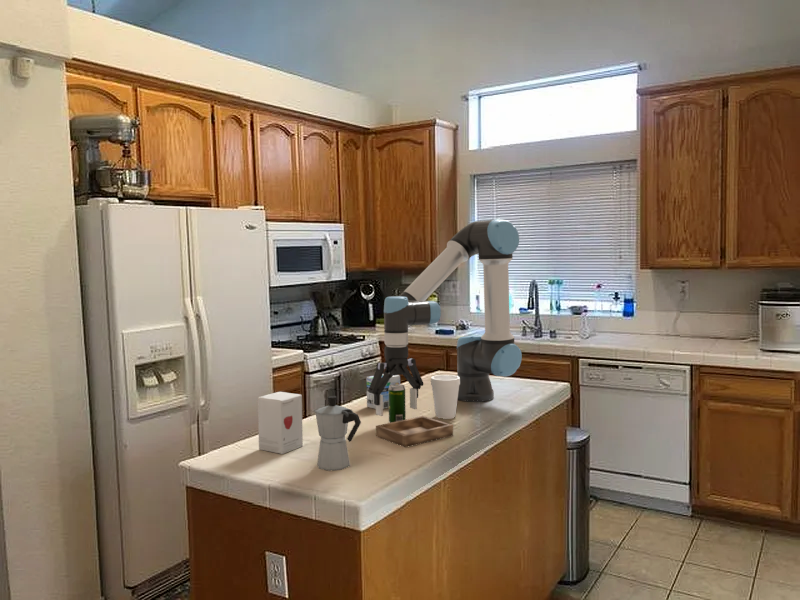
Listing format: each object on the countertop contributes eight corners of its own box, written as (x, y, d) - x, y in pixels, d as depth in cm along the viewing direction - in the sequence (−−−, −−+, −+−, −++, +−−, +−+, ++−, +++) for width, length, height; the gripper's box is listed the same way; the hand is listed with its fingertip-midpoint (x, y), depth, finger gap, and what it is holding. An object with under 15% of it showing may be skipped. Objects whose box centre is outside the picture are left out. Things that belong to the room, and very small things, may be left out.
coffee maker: (303, 466, 169) (301, 397, 168) (324, 456, 177) (323, 390, 175) (350, 475, 162) (349, 403, 160) (370, 465, 169) (369, 396, 168)
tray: (422, 425, 206) (422, 415, 206) (453, 435, 195) (452, 425, 195) (376, 436, 195) (375, 425, 195) (405, 447, 184) (405, 436, 184)
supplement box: (282, 455, 179) (280, 400, 178) (258, 449, 184) (256, 397, 182) (304, 446, 186) (302, 394, 185) (280, 441, 191) (278, 390, 190)
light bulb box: (378, 410, 226) (377, 379, 226) (366, 407, 231) (365, 376, 231) (401, 405, 234) (400, 375, 233) (388, 401, 239) (388, 372, 238)
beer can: (408, 423, 209) (408, 386, 208) (393, 425, 206) (392, 388, 205) (401, 419, 213) (400, 383, 213) (386, 421, 211) (385, 385, 210)
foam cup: (458, 420, 211) (457, 380, 210) (429, 419, 213) (429, 379, 212) (461, 413, 221) (461, 375, 220) (433, 412, 223) (433, 374, 222)
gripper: (419, 340, 218) (419, 403, 220) (356, 347, 203) (357, 415, 205) (434, 343, 213) (434, 407, 214) (370, 350, 197) (371, 420, 199)
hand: (396, 411), depth 210 cm, fingers open, 13 cm apart
